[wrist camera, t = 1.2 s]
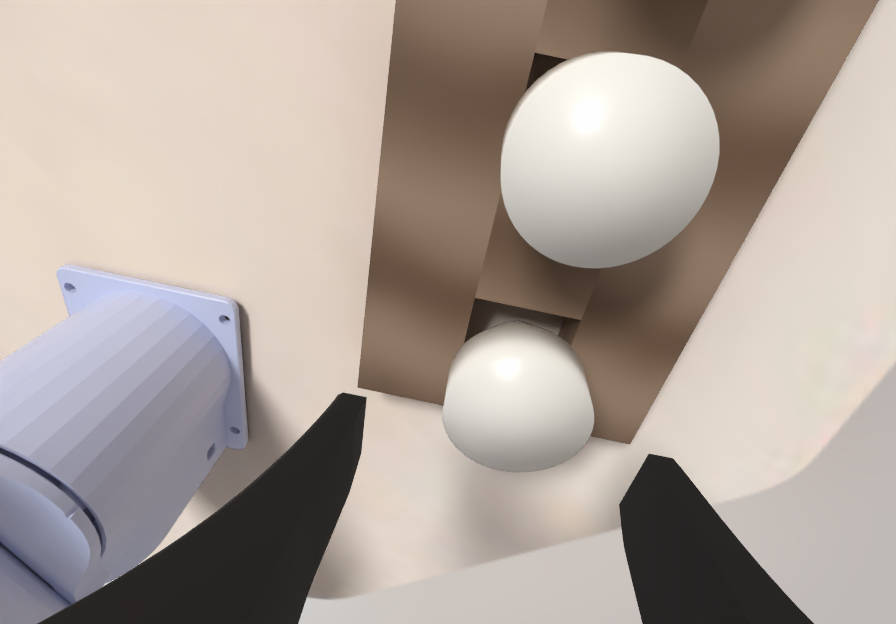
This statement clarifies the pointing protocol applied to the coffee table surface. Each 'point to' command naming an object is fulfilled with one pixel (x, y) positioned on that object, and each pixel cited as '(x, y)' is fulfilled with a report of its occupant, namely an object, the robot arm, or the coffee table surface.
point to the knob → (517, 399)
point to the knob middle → (608, 158)
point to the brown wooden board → (480, 196)
